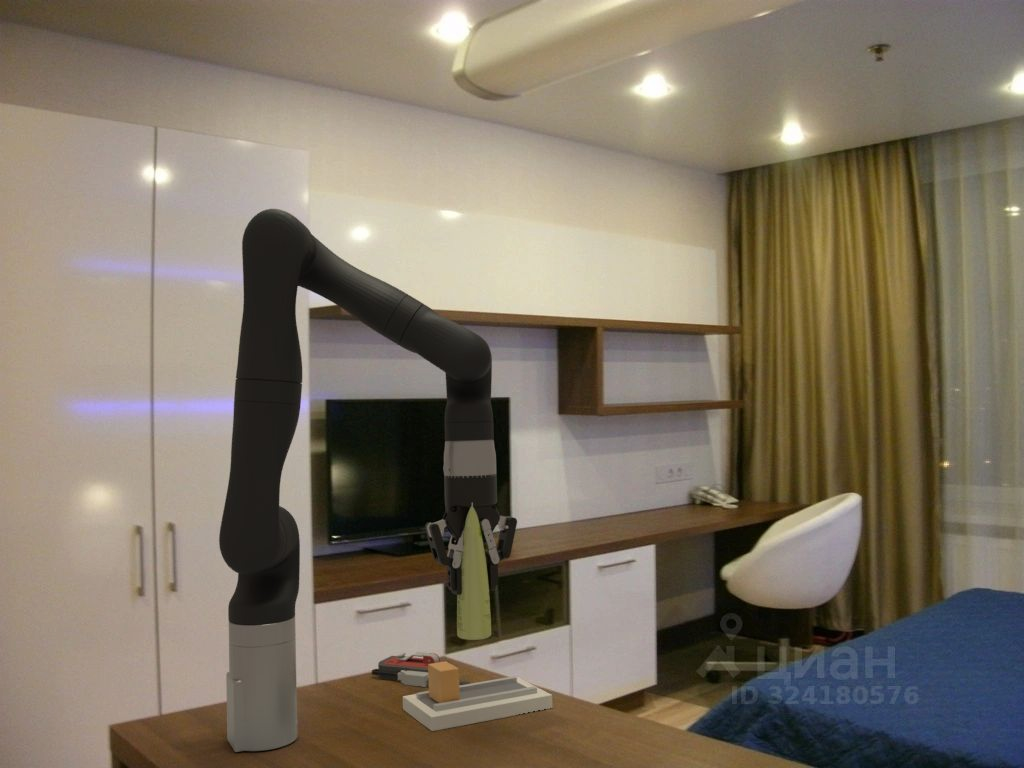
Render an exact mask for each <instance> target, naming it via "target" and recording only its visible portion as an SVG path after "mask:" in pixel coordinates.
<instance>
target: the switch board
mask: <svg viewBox="0 0 1024 768" xmlns="http://www.w3.org/2000/svg"><path fill="white" fill-rule="evenodd" d="M459 689H460V700H455V701H449V702H444V703H438V702H437V701H435V700H434V699H432V698H431V697H429V690H425V691H420V692H416V693H413V694H409V695H404V696H402V710H403V711H405V712H406V713H407V714H409V716H411V717H412V718H414V719H415V720H417V721H418V722H419V723H420V724H421V725H423V726H424V727H426V728H427V729H428V730H430V731H431V732H436V731H440V730H441V731H442V730H446V729H452V728H455V727H463V726H466V725H467V726H468V725H472V724H476V723H477V724H478V723H483V722H487V721H492V720H493V721H494V720H497V719H498V720H499V719H503V718H504V719H505V718H508V717H514V716H519V714H520V715H522V714H523V713H525V714H529V713H528V712H530V713H534V712H533V711H535V712H539V711H538V710H540V711H544V709H546V710H550V708H551V709H553V694H551V693H549V692H547V691H545V690H543V689H541V688H539V687H537V686H535V685H533V684H531V683H529V682H527V681H526V680H523V679H522V678H520V677H518V676H507V677H502V678H501V677H500V678H495V679H491V680H485V681H479V682H472V683H471V684H466V685H459Z"/></svg>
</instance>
